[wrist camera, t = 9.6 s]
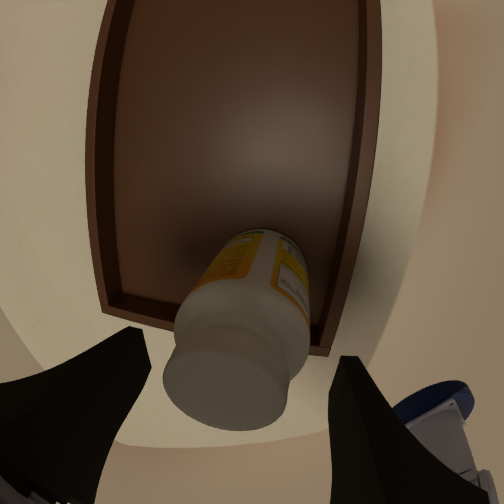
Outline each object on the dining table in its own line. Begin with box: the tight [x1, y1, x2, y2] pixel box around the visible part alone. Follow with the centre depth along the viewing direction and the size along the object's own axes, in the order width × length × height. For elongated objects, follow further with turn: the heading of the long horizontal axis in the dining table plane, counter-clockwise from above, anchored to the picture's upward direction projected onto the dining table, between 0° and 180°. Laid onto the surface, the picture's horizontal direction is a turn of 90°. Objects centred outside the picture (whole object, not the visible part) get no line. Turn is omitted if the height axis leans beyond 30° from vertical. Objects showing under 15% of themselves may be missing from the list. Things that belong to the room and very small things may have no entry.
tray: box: [85, 0, 382, 357], centre depth 12 cm, size 30×16×3 cm, turn 175°
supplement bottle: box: [163, 229, 310, 431], centre depth 12 cm, size 5×5×10 cm
